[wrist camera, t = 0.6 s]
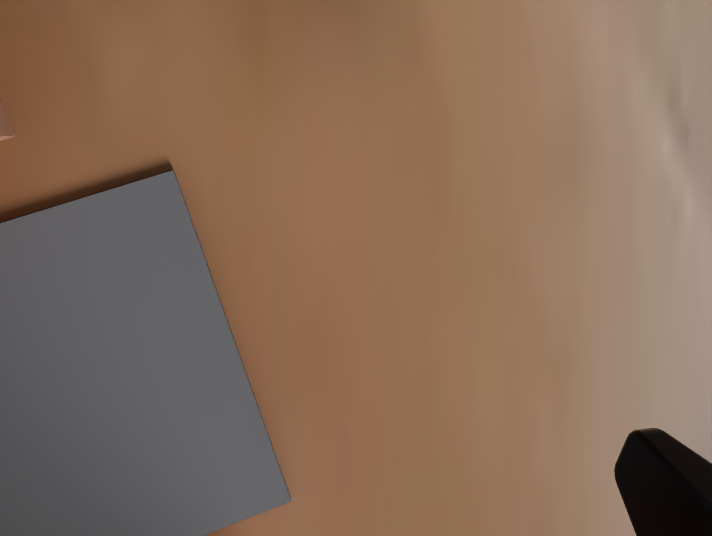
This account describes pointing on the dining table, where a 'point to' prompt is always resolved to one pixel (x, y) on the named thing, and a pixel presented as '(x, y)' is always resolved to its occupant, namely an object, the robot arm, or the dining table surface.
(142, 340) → the charcoal mat
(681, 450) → the robot arm
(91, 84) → the dining table surface
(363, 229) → the dining table surface
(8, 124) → the terracotta block
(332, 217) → the dining table surface
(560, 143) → the dining table surface
